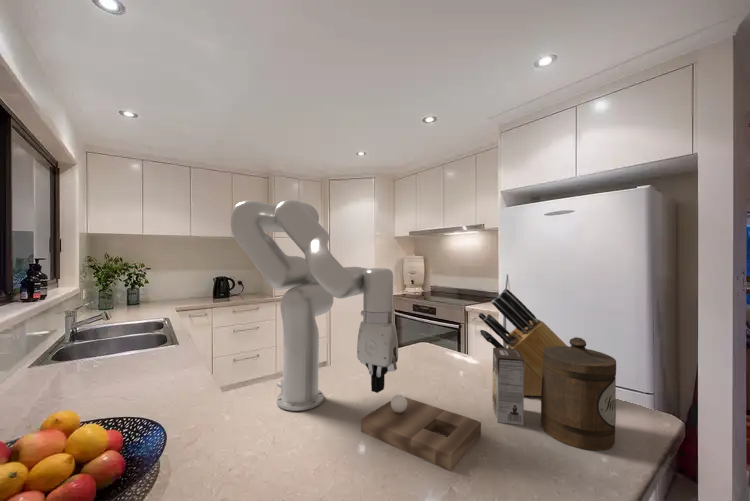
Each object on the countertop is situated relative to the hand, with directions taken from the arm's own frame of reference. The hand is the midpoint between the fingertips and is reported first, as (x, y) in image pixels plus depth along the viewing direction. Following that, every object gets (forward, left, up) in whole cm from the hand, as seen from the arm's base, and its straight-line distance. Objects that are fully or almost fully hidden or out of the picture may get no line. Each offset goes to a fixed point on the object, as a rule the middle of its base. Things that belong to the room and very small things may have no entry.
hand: (377, 390), depth 84 cm
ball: (+6, 0, -2) cm, 7 cm away
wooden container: (+40, +23, -7) cm, 47 cm away
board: (+12, 0, -7) cm, 14 cm away
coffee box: (+25, +21, -7) cm, 34 cm away
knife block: (+29, +43, -7) cm, 52 cm away
